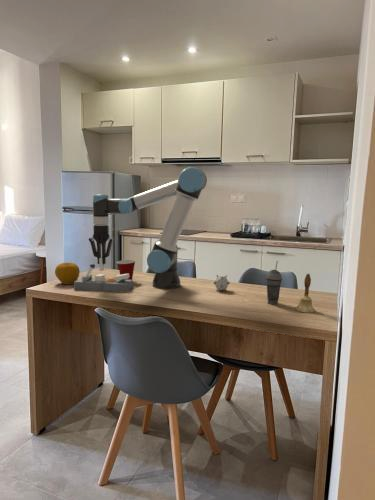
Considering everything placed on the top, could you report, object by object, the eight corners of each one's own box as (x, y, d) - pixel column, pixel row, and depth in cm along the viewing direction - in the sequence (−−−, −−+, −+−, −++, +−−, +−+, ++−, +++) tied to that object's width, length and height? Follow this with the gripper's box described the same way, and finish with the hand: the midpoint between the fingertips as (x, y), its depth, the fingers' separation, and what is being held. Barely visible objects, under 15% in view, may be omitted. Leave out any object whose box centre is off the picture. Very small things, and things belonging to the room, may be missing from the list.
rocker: (129, 276, 188) (128, 273, 188) (127, 278, 184) (126, 274, 184) (118, 278, 189) (117, 275, 189) (115, 280, 185) (114, 276, 185)
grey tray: (132, 287, 192) (132, 275, 191) (127, 291, 182) (127, 279, 181) (82, 284, 195) (81, 273, 195) (74, 289, 186) (73, 277, 185)
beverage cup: (269, 300, 171) (271, 258, 168) (283, 303, 167) (285, 260, 164) (261, 303, 166) (263, 260, 163) (276, 306, 161) (278, 262, 158)
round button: (115, 285, 190) (115, 277, 189) (113, 287, 186) (113, 279, 186) (108, 285, 190) (108, 277, 190) (106, 286, 187) (106, 278, 186)
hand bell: (305, 306, 162) (307, 271, 160) (319, 311, 155) (322, 275, 153) (291, 308, 158) (293, 273, 156) (305, 314, 151) (307, 276, 149)
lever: (90, 279, 192) (97, 264, 190) (86, 281, 187) (93, 265, 185) (86, 277, 192) (92, 262, 190) (82, 279, 187) (89, 263, 185)
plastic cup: (119, 279, 210) (118, 258, 209) (137, 279, 210) (137, 259, 208) (114, 283, 200) (114, 262, 198) (134, 284, 199) (133, 262, 197)
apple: (66, 287, 190) (65, 266, 188) (50, 284, 196) (49, 263, 195) (85, 282, 201) (84, 262, 199) (69, 279, 207) (68, 260, 206)
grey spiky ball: (217, 297, 188) (207, 280, 191) (230, 290, 192) (220, 274, 194) (222, 293, 180) (212, 275, 182) (236, 285, 184) (225, 268, 186)
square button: (104, 282, 190) (104, 274, 190) (102, 283, 187) (102, 275, 186) (97, 281, 191) (97, 274, 190) (95, 283, 187) (95, 275, 186)
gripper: (115, 224, 187) (116, 269, 191) (91, 224, 189) (92, 268, 192) (111, 225, 180) (111, 272, 183) (85, 225, 181) (86, 271, 185)
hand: (101, 270), depth 188 cm, fingers closed
